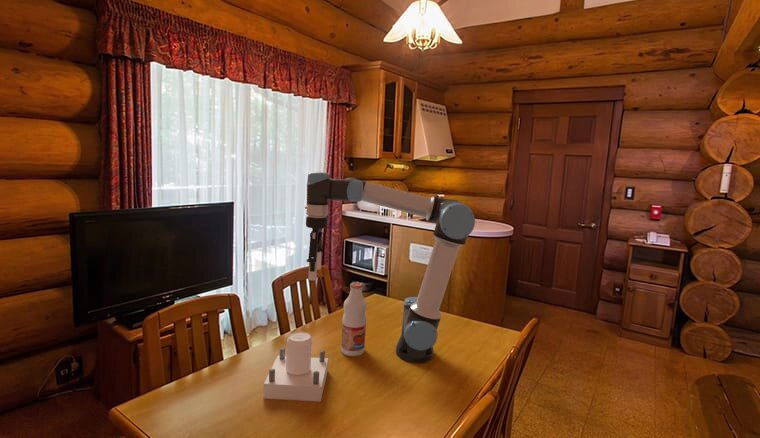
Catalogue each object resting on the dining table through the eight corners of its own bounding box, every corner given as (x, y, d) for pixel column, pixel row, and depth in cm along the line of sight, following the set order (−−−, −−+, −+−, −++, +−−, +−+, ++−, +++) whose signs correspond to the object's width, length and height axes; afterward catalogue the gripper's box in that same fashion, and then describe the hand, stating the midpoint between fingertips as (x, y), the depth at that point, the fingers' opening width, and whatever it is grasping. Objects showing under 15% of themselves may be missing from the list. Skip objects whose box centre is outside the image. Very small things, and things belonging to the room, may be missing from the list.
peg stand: (327, 371, 143) (328, 349, 142) (320, 401, 126) (321, 376, 124) (277, 368, 143) (278, 346, 142) (263, 398, 125) (264, 373, 124)
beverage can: (305, 378, 129) (306, 343, 127) (281, 374, 130) (282, 339, 129) (314, 366, 137) (315, 333, 135) (291, 362, 138) (293, 329, 136)
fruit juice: (347, 343, 165) (350, 278, 161) (367, 348, 162) (372, 282, 158) (336, 353, 157) (340, 285, 152) (358, 359, 153) (362, 289, 149)
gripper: (311, 210, 152) (309, 264, 156) (300, 221, 128) (298, 284, 131) (330, 211, 153) (328, 265, 156) (323, 222, 128) (321, 285, 131)
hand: (314, 274), depth 144 cm, fingers open, 13 cm apart
